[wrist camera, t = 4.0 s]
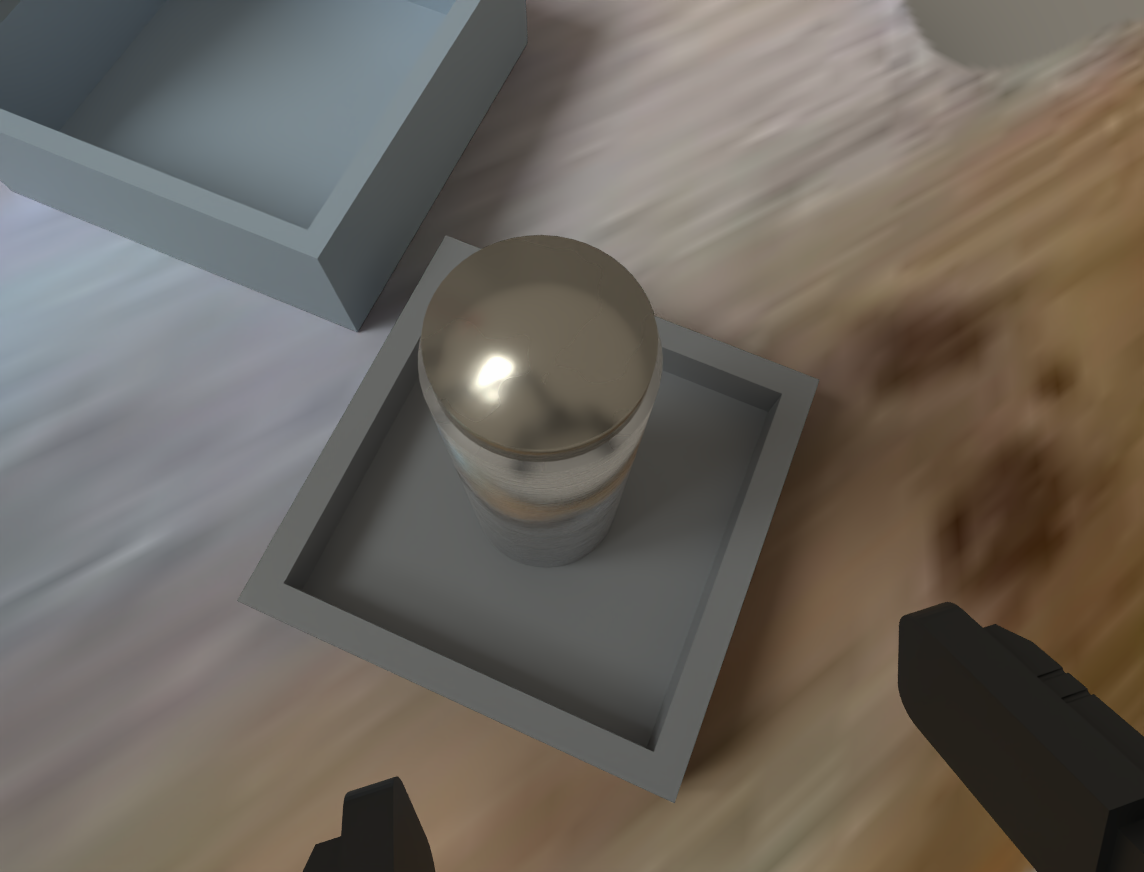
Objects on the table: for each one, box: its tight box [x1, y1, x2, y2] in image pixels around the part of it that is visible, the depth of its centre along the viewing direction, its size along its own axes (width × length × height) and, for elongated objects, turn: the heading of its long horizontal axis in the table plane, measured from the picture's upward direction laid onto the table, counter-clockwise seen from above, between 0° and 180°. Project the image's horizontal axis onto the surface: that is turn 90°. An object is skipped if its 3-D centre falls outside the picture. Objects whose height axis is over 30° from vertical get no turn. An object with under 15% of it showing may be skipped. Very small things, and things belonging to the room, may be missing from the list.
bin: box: [0, 0, 528, 332], centre depth 29 cm, size 16×16×5 cm
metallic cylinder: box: [418, 235, 663, 568], centre depth 19 cm, size 5×5×12 cm
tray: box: [237, 235, 819, 803], centre depth 25 cm, size 14×14×2 cm
